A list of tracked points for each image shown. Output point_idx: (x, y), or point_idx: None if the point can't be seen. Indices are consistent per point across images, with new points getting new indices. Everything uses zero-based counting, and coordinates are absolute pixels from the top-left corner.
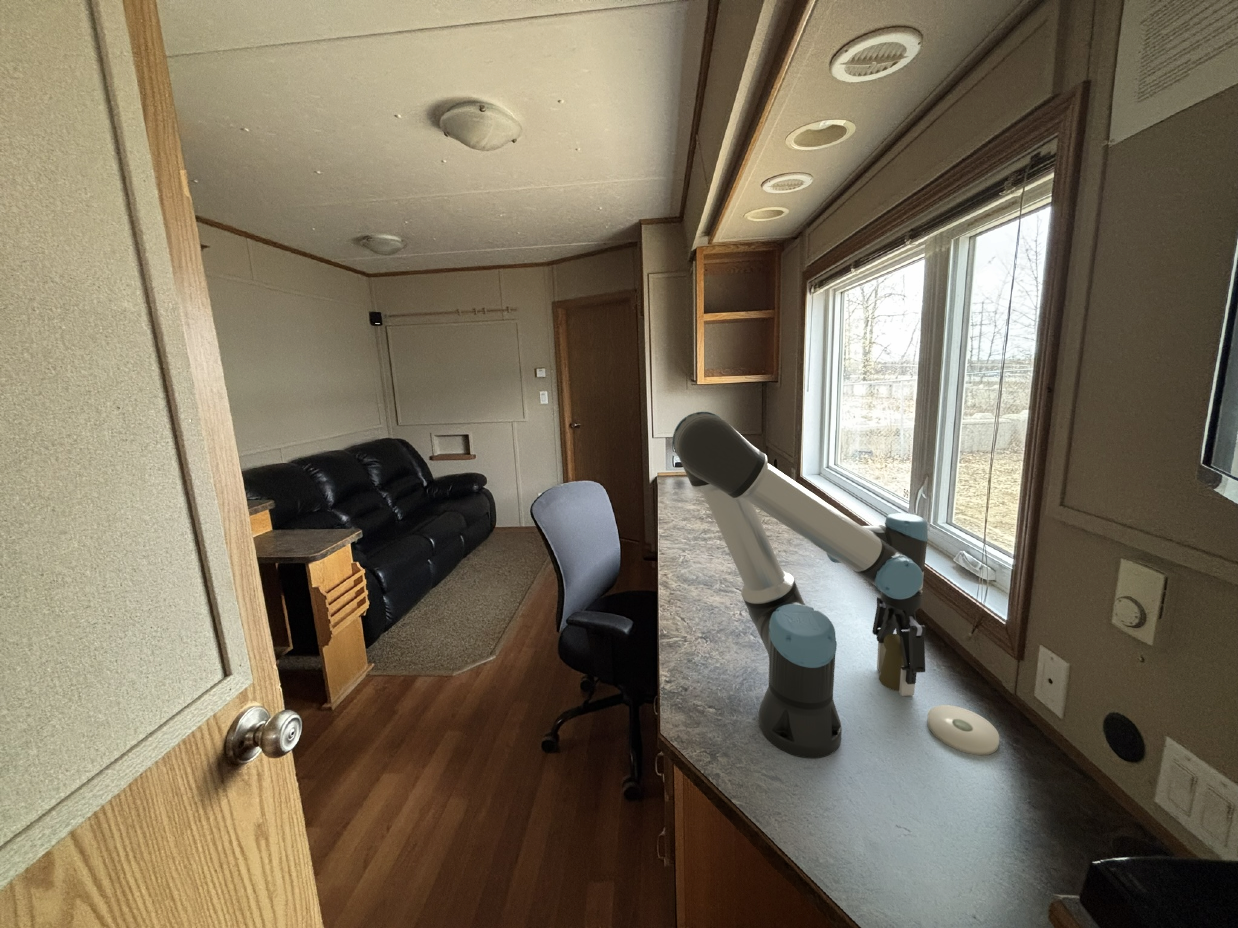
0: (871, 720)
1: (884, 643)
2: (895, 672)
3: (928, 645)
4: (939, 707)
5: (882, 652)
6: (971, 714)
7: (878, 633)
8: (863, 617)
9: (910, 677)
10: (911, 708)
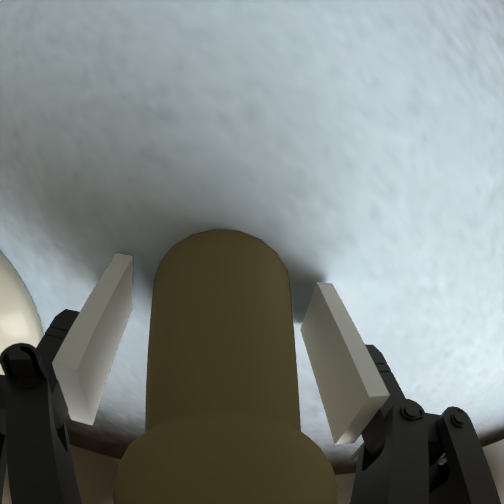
0: (18, 26)
1: (271, 462)
2: (161, 318)
3: (345, 458)
4: (17, 325)
5: (342, 364)
6: None
7: (424, 449)
8: (501, 380)
9: (41, 343)
10: (49, 239)
